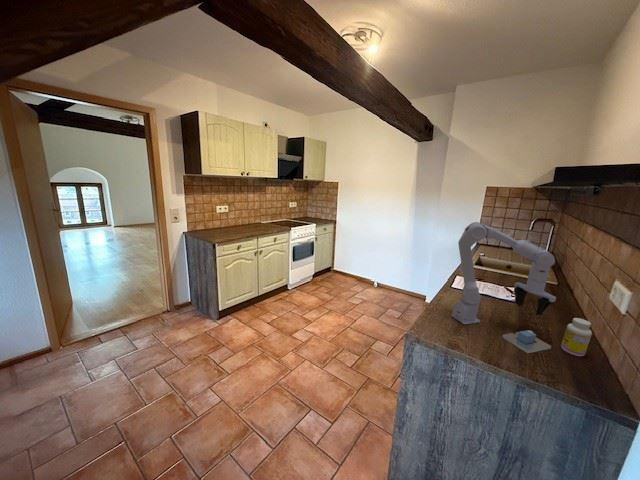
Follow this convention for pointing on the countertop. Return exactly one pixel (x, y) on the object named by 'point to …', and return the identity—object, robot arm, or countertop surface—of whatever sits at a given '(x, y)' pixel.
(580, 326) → the supplement bottle
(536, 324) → the countertop surface
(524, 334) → the block
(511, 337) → the plate
